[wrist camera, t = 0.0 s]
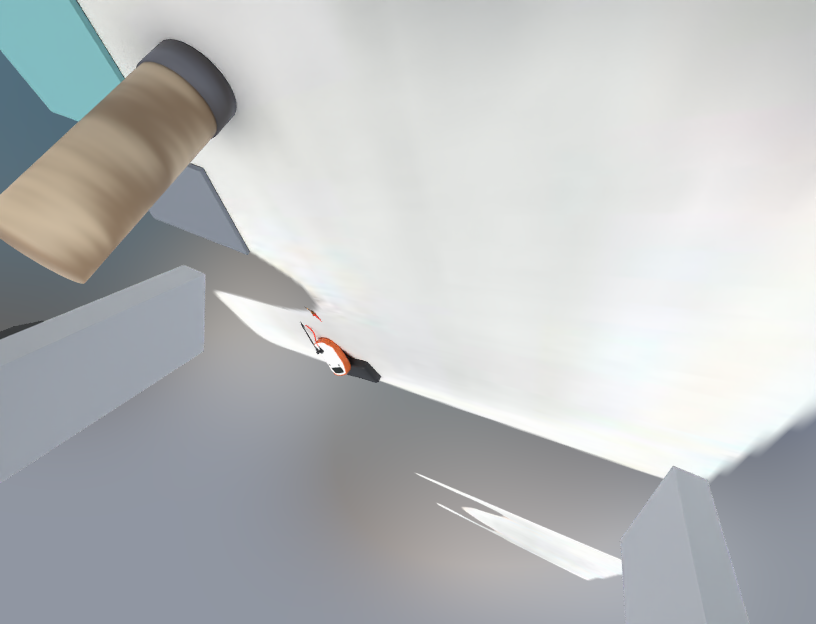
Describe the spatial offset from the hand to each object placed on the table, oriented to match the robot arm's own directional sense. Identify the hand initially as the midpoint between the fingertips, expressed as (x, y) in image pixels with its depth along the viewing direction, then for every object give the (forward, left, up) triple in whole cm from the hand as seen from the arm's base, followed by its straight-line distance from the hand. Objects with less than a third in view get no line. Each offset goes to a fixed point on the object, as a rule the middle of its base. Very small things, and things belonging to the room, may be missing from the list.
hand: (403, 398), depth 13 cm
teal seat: (+9, -34, -15) cm, 39 cm away
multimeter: (+46, -20, -16) cm, 53 cm away
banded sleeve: (+7, -21, -15) cm, 27 cm away
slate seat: (+22, -31, -15) cm, 41 cm away
